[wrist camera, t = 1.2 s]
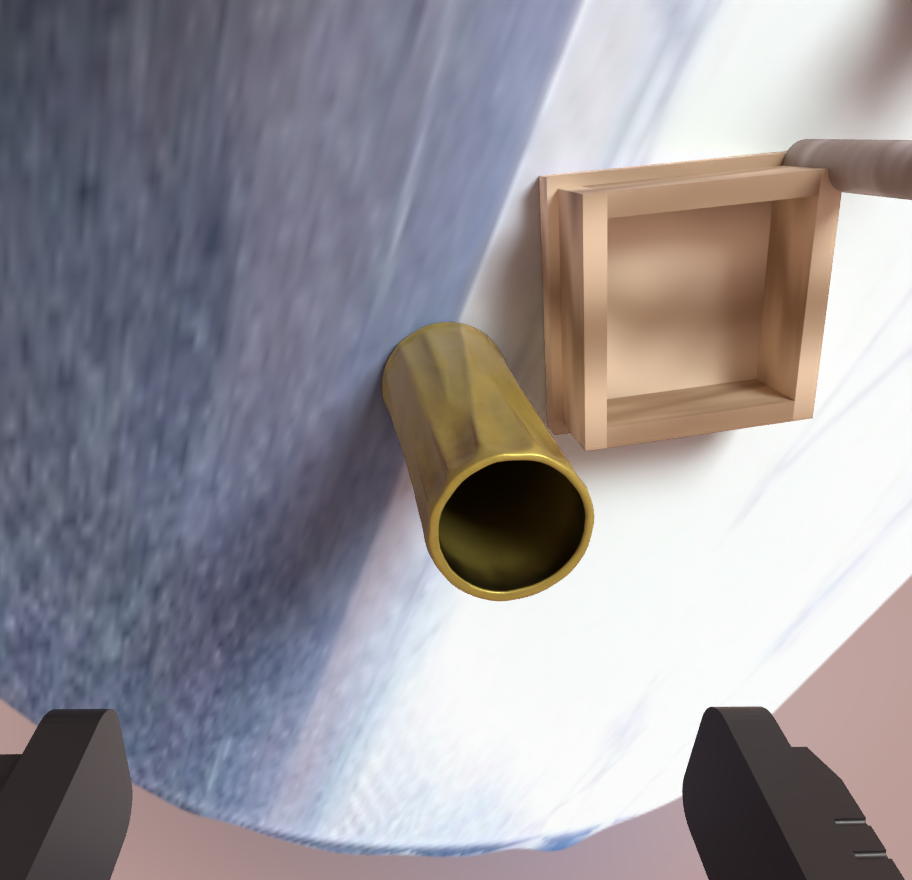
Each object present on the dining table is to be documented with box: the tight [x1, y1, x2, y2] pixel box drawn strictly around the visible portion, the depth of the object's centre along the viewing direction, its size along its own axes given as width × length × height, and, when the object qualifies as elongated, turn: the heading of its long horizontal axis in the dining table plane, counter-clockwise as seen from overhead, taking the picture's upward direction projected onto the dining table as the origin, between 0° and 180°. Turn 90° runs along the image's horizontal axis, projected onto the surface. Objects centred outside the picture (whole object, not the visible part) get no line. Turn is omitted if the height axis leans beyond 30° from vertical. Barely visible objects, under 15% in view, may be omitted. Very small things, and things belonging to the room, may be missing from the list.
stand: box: [539, 139, 912, 451], centre depth 29 cm, size 12×13×13 cm
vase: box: [382, 322, 594, 601], centre depth 28 cm, size 6×6×14 cm
